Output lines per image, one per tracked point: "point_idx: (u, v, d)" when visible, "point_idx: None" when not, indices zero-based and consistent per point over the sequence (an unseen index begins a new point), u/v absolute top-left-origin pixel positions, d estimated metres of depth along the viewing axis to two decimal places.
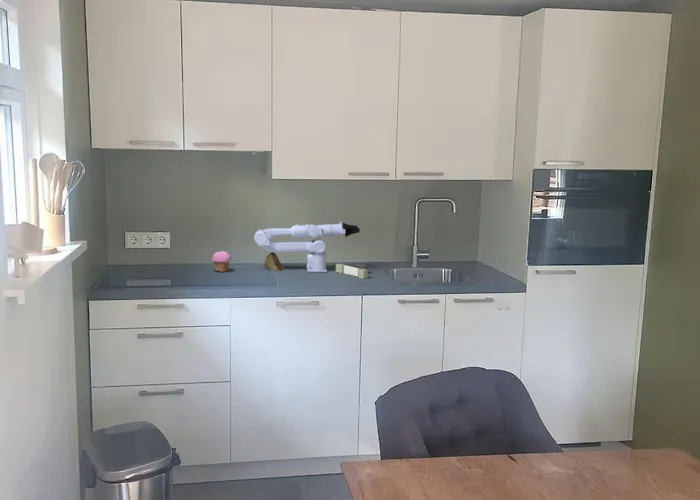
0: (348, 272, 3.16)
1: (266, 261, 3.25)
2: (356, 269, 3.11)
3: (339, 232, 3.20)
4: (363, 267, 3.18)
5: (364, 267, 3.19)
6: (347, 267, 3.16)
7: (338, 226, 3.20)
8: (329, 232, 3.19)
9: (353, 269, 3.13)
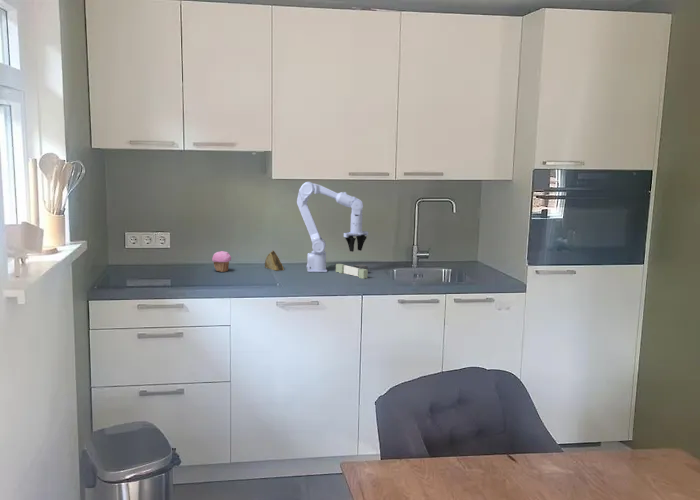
0: (348, 272, 3.16)
1: (266, 261, 3.25)
2: (356, 269, 3.11)
3: (350, 231, 3.21)
4: (363, 267, 3.18)
5: (364, 267, 3.19)
6: (347, 267, 3.16)
7: (355, 231, 3.19)
8: (354, 221, 3.18)
9: (353, 269, 3.13)
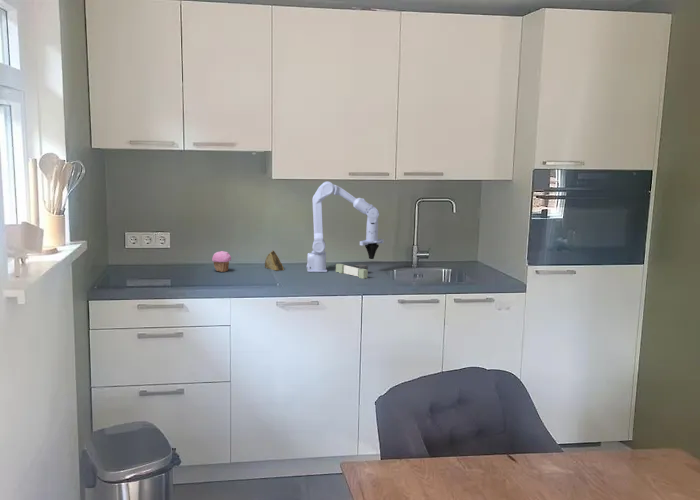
0: (348, 272, 3.16)
1: (266, 261, 3.25)
2: (356, 269, 3.11)
3: (366, 239, 3.22)
4: (363, 267, 3.18)
5: (364, 267, 3.19)
6: (347, 267, 3.16)
7: (371, 239, 3.20)
8: (370, 230, 3.19)
9: (353, 269, 3.13)
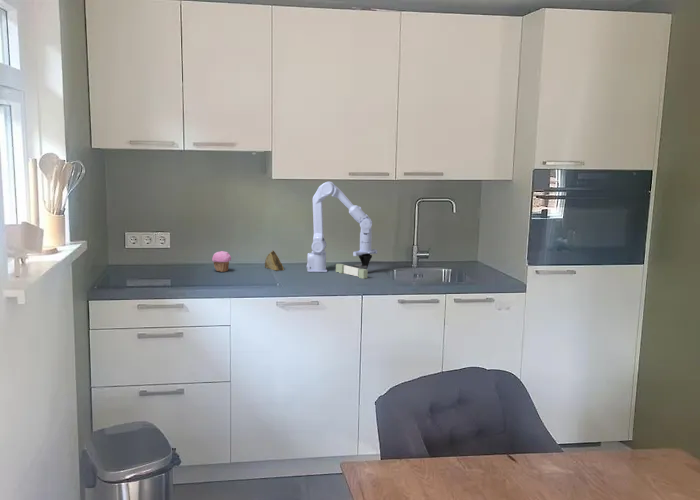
0: (348, 272, 3.16)
1: (266, 261, 3.25)
2: (356, 269, 3.11)
3: (360, 249, 3.20)
4: (362, 267, 3.18)
5: (363, 267, 3.18)
6: (347, 267, 3.16)
7: (364, 250, 3.18)
8: (363, 240, 3.17)
9: (353, 269, 3.13)
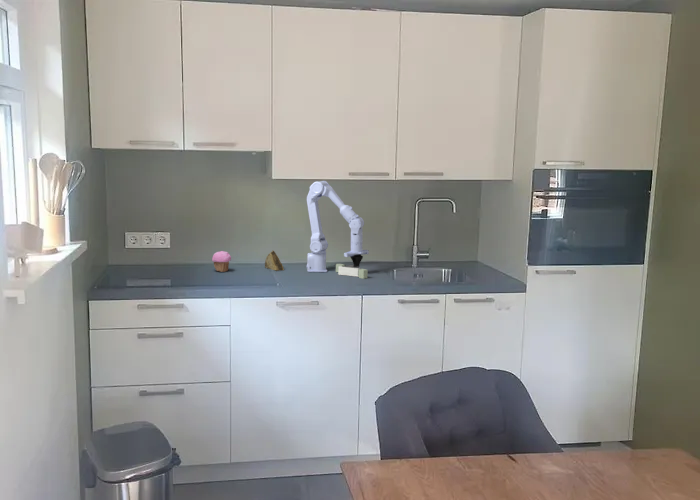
0: (345, 273, 3.13)
1: (266, 261, 3.25)
2: (356, 269, 3.11)
3: (351, 250, 3.16)
4: None
5: None
6: (343, 268, 3.13)
7: (355, 250, 3.14)
8: (353, 241, 3.14)
9: (352, 269, 3.12)
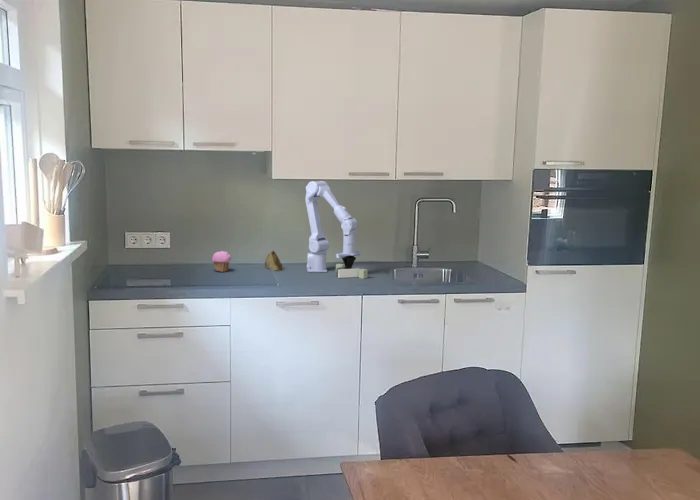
0: (345, 275, 3.08)
1: (266, 261, 3.25)
2: (357, 269, 3.10)
3: (343, 251, 3.13)
4: None
5: None
6: (344, 270, 3.07)
7: (348, 252, 3.11)
8: (344, 242, 3.11)
9: (353, 271, 3.09)
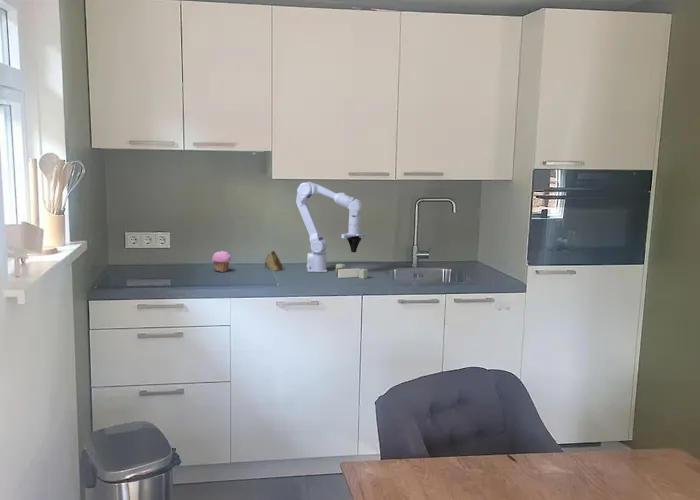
0: (345, 275, 3.08)
1: (266, 261, 3.25)
2: (357, 269, 3.10)
3: (348, 232, 3.17)
4: None
5: None
6: (344, 271, 3.07)
7: (353, 232, 3.15)
8: (351, 222, 3.15)
9: (353, 271, 3.09)
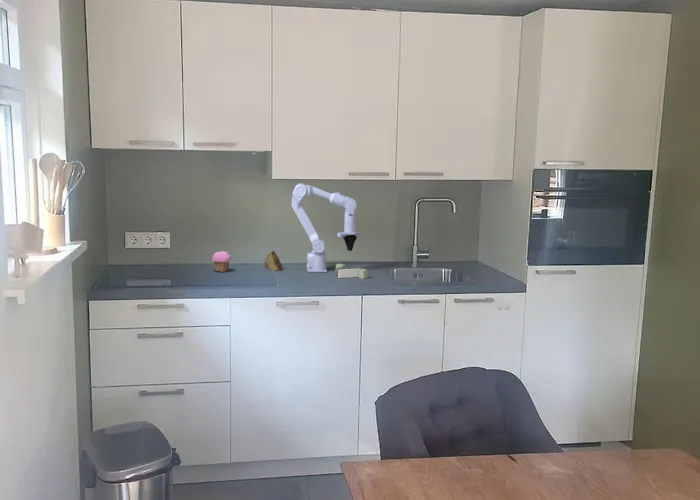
0: (345, 275, 3.08)
1: (266, 261, 3.25)
2: (357, 269, 3.10)
3: (344, 231, 3.21)
4: None
5: None
6: (344, 271, 3.07)
7: (349, 231, 3.19)
8: (348, 221, 3.19)
9: (353, 271, 3.09)
